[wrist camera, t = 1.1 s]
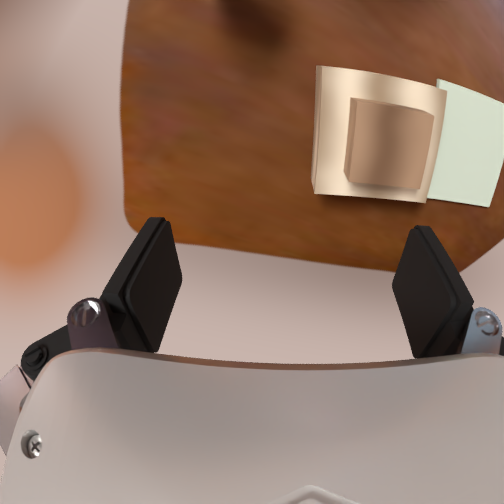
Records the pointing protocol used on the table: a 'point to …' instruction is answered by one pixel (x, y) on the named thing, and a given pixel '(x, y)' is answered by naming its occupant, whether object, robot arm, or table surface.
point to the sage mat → (468, 147)
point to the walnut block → (387, 143)
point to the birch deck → (336, 128)
